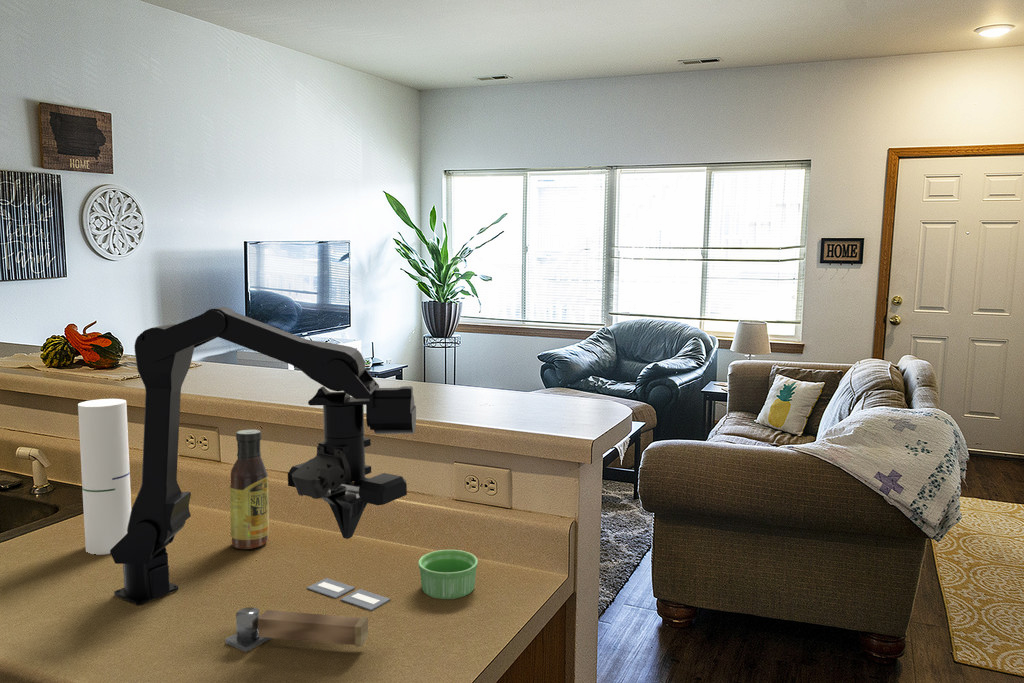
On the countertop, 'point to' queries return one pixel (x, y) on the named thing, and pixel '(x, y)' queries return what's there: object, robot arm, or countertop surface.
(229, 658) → the countertop surface
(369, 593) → the label tile
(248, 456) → the sauce bottle
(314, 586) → the label tile
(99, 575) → the countertop surface
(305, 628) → the bar
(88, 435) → the cylindrical container
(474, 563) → the ramekin
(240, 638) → the post on base plate
